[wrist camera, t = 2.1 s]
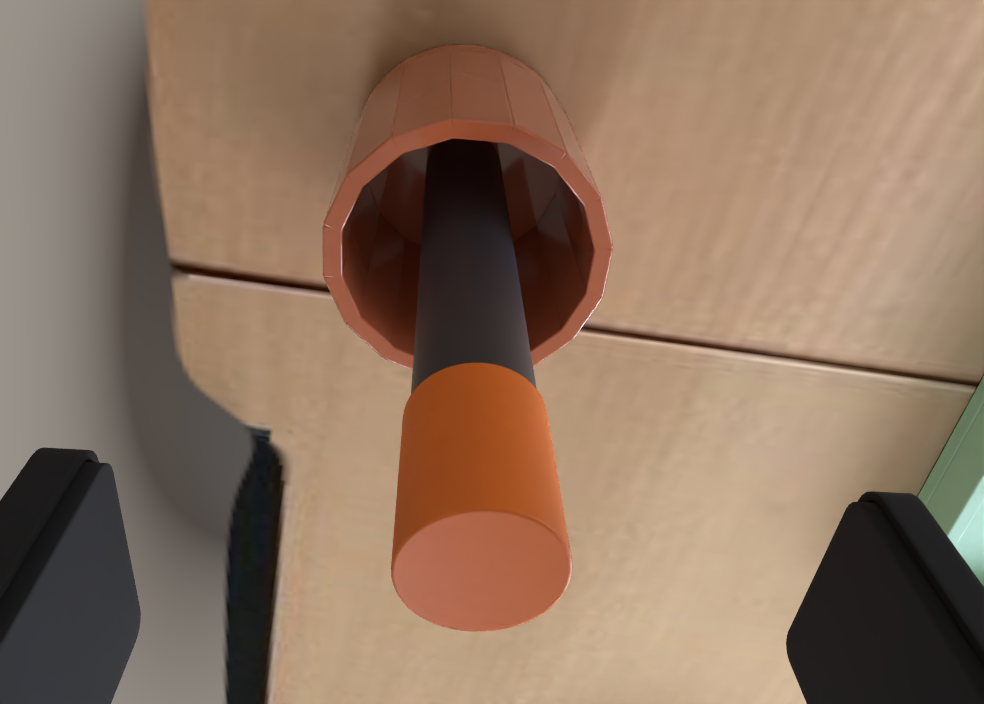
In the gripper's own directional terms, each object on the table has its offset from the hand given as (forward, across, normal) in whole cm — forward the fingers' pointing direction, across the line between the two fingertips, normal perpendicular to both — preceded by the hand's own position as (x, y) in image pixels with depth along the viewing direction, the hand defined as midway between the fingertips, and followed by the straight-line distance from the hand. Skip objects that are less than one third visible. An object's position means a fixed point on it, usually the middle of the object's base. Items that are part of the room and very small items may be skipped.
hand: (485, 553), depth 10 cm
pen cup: (+14, 0, 0) cm, 14 cm away
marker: (+13, 0, 0) cm, 13 cm away
